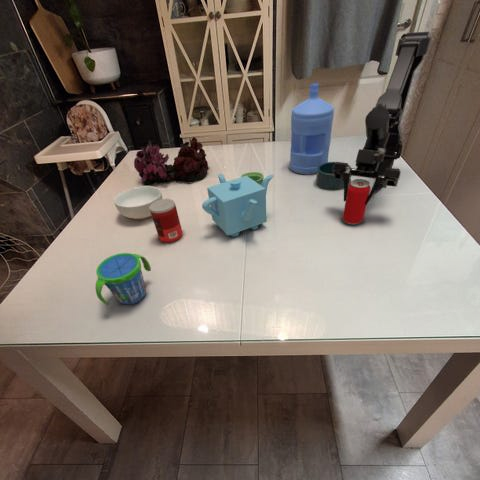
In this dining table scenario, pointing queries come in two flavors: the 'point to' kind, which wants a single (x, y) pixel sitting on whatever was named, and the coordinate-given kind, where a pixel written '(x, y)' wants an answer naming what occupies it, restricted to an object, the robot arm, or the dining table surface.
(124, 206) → the cereal bowl
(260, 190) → the teakettle
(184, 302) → the dining table surface
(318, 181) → the pot
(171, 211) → the canned food
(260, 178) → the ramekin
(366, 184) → the beverage can
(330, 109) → the water jug
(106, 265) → the snack cup
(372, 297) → the dining table surface
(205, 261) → the dining table surface
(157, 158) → the flower arrangement
